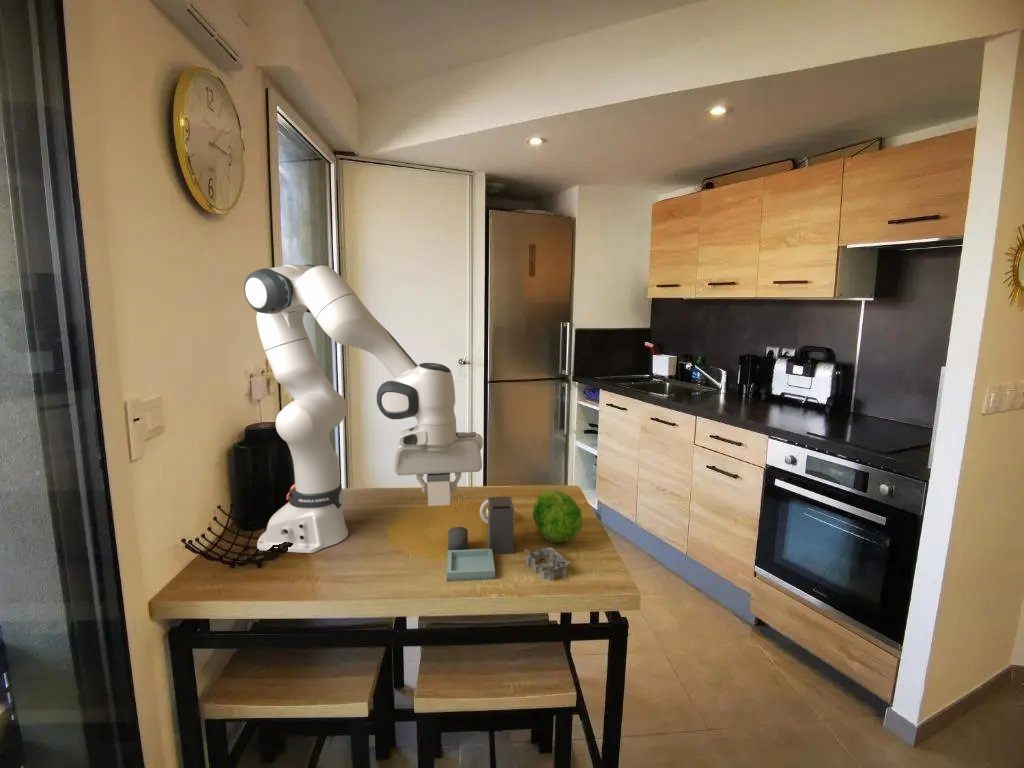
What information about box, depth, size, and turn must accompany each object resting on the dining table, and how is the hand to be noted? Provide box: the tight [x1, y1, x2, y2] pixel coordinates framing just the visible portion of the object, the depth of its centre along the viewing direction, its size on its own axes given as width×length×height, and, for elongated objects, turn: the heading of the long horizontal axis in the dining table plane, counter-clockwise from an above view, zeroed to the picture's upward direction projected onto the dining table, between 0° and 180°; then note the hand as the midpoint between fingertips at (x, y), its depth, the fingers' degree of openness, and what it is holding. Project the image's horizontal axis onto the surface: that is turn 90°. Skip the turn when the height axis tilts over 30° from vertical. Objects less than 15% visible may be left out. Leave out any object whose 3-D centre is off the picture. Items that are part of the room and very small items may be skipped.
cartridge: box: [426, 473, 452, 507], centre depth 122 cm, size 5×5×7 cm
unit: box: [487, 496, 515, 555], centre depth 135 cm, size 6×8×12 cm
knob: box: [447, 526, 469, 551], centre depth 134 cm, size 5×5×5 cm
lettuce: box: [532, 489, 584, 544], centre depth 142 cm, size 13×23×12 cm, turn 5°
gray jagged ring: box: [524, 547, 571, 582], centre depth 124 cm, size 11×8×4 cm
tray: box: [446, 548, 496, 582], centre depth 124 cm, size 11×11×2 cm
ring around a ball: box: [479, 499, 488, 525], centre depth 147 cm, size 8×6×8 cm
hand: (439, 490), depth 122 cm, fingers closed on cartridge, 5 cm apart
